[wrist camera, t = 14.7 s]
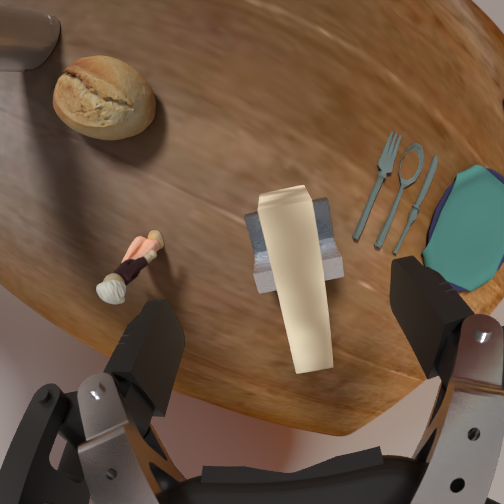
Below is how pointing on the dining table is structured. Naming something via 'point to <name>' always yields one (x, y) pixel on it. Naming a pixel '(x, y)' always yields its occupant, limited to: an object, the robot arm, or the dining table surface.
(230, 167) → the dining table surface
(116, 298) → the grandmother figurine
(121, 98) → the bread roll
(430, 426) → the robot arm
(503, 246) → the cutlery set
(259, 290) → the ridge stand
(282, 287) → the birch bar
